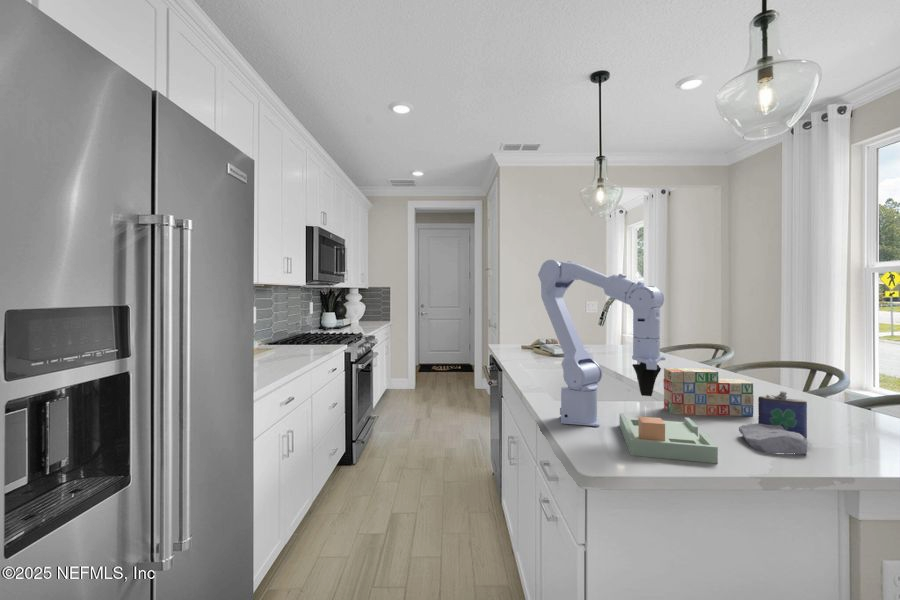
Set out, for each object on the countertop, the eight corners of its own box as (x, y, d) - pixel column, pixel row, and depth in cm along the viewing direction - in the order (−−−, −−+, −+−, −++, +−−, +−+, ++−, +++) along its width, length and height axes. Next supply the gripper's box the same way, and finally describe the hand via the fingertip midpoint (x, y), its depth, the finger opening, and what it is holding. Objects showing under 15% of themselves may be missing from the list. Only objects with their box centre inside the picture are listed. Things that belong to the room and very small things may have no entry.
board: (630, 455, 88) (630, 439, 88) (619, 425, 108) (619, 412, 108) (717, 463, 84) (717, 447, 84) (688, 430, 104) (689, 417, 104)
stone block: (762, 462, 89) (814, 455, 88) (757, 440, 89) (808, 432, 88) (733, 445, 101) (779, 438, 99) (729, 425, 101) (774, 418, 100)
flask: (805, 437, 99) (805, 392, 99) (808, 441, 96) (809, 394, 96) (757, 431, 103) (757, 388, 103) (759, 435, 101) (759, 390, 100)
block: (641, 443, 89) (641, 422, 89) (638, 436, 94) (638, 416, 94) (665, 445, 88) (665, 424, 88) (660, 438, 92) (660, 418, 92)
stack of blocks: (741, 410, 122) (741, 368, 122) (753, 417, 116) (754, 372, 116) (663, 408, 125) (663, 367, 125) (671, 414, 119) (671, 370, 119)
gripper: (672, 341, 91) (672, 404, 91) (658, 335, 105) (658, 389, 105) (636, 340, 93) (636, 401, 93) (628, 334, 107) (628, 388, 107)
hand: (646, 395), depth 99 cm, fingers closed
